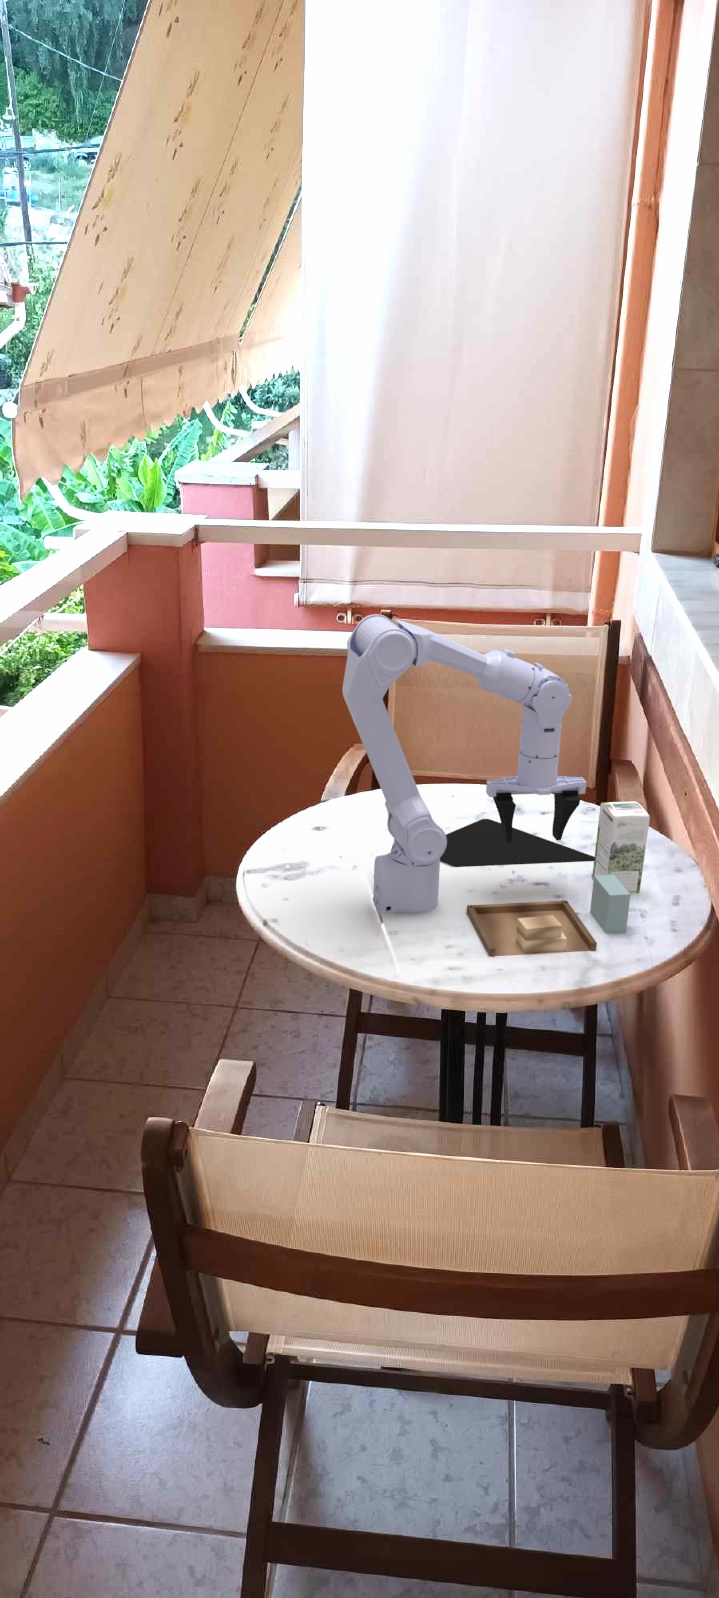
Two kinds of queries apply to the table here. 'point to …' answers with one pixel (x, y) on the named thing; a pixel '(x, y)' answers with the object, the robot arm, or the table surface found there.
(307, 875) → the table surface
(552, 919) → the offcut upper
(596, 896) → the sage green tall block
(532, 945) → the offcut lower
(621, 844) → the syrup box
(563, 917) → the brown wooden tray
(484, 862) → the tablet
